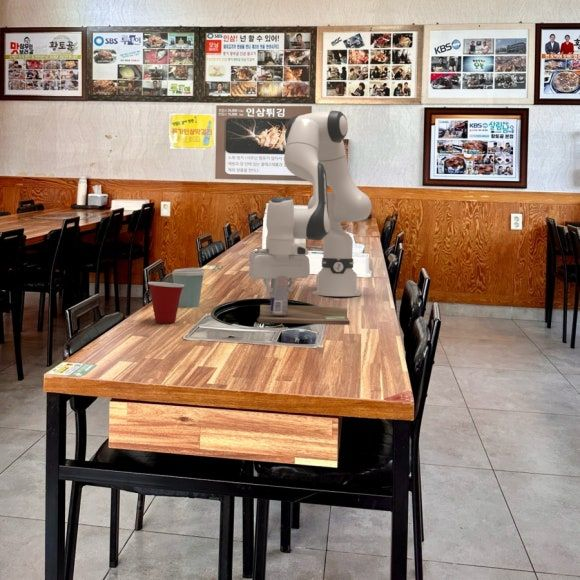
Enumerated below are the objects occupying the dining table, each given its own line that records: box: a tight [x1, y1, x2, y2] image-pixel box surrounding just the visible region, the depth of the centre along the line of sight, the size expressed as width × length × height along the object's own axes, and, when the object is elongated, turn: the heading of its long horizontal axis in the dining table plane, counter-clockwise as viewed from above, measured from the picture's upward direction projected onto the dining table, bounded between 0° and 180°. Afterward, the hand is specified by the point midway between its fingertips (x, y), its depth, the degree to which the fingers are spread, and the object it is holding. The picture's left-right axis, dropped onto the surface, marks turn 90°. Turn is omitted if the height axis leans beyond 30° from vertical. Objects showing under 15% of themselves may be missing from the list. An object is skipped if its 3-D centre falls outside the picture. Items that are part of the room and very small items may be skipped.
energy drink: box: [270, 277, 289, 315], centre depth 207 cm, size 5×5×12 cm
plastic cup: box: [147, 281, 184, 324], centre depth 197 cm, size 11×11×12 cm
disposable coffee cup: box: [171, 267, 205, 309], centre depth 220 cm, size 11×11×15 cm
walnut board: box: [257, 304, 351, 325], centre depth 207 cm, size 12×28×4 cm, turn 89°
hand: (279, 292), depth 207 cm, fingers closed on energy drink, 5 cm apart
